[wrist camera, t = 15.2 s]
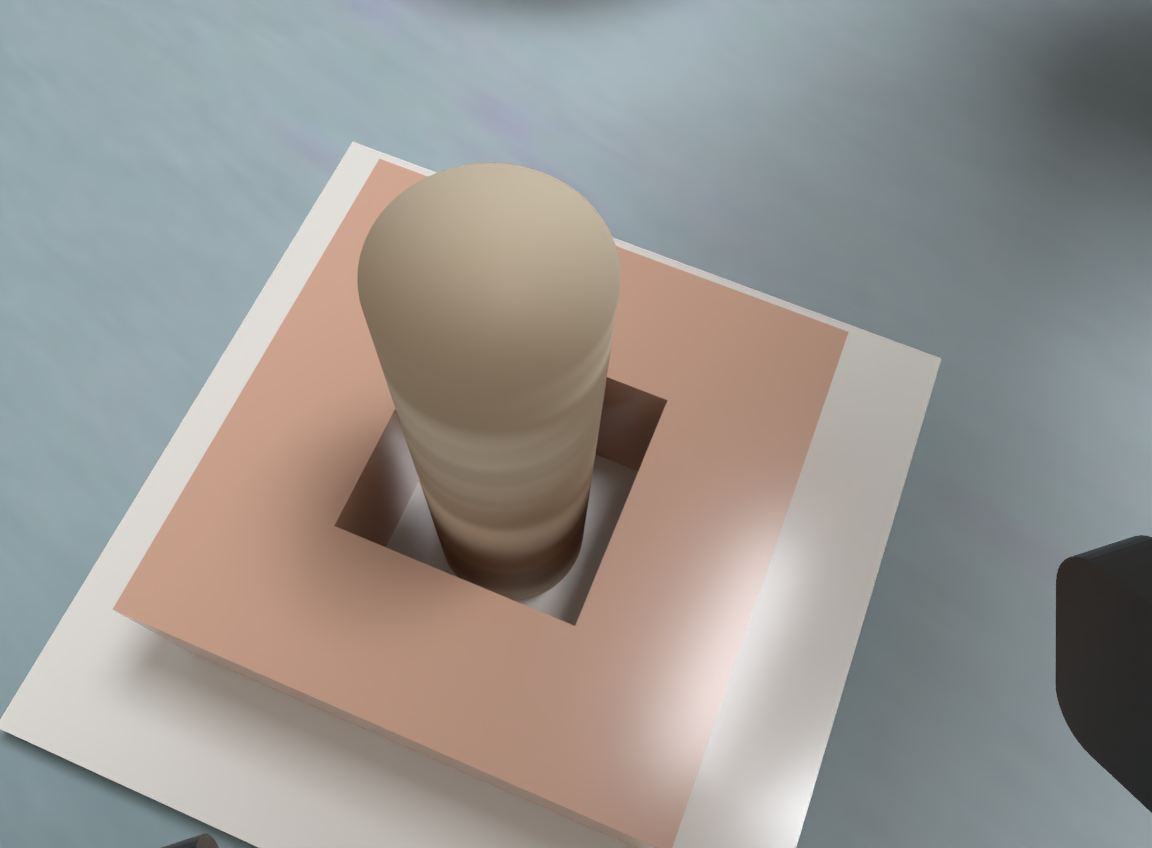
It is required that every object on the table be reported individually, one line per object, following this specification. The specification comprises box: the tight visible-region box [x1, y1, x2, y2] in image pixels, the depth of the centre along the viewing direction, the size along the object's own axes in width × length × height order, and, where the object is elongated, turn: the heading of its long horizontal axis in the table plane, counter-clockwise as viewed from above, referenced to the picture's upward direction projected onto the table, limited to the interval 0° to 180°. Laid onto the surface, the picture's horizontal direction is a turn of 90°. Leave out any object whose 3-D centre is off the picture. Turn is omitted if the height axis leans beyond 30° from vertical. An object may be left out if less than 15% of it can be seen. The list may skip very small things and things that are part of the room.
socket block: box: [0, 142, 942, 848], centre depth 23 cm, size 17×17×6 cm
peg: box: [357, 163, 621, 600], centre depth 19 cm, size 3×3×12 cm
